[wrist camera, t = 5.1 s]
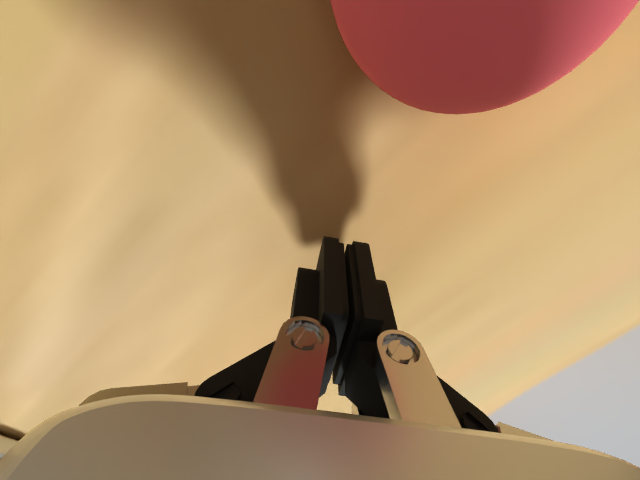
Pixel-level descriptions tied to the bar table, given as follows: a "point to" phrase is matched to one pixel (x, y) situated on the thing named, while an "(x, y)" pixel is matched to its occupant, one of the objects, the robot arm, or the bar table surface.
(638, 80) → the bar table surface
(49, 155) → the bar table surface
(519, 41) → the ball
